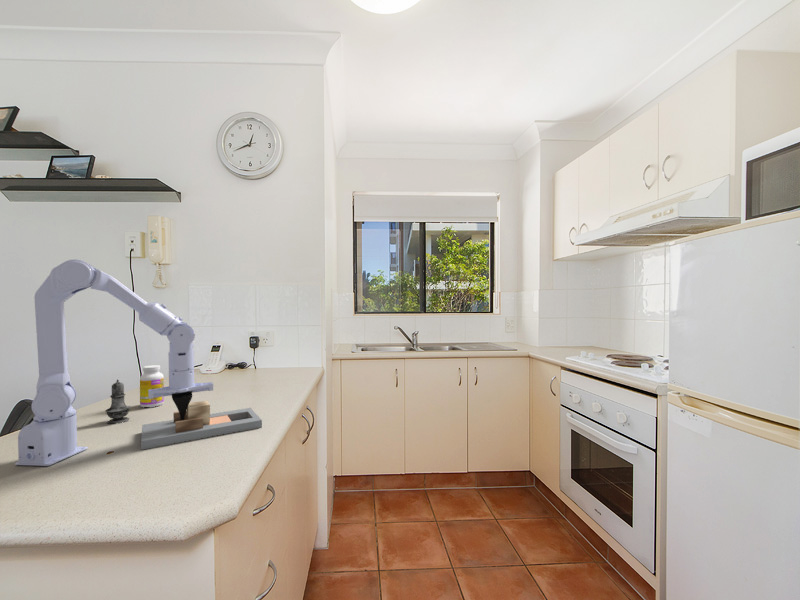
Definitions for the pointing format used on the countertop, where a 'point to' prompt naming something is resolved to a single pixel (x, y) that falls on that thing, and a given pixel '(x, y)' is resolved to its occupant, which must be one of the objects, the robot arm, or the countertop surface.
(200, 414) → the block
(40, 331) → the robot arm
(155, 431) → the deck
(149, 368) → the supplement bottle
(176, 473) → the countertop surface
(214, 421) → the tile
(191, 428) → the channel walls
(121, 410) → the salt shaker
